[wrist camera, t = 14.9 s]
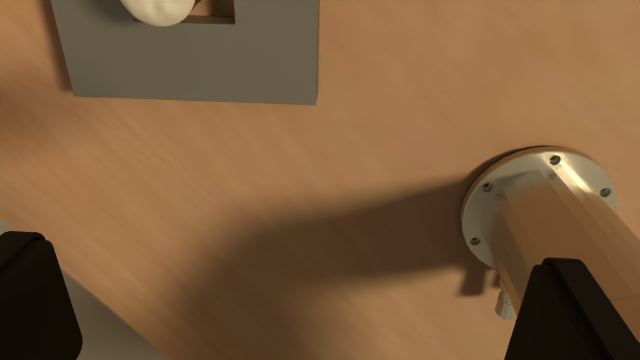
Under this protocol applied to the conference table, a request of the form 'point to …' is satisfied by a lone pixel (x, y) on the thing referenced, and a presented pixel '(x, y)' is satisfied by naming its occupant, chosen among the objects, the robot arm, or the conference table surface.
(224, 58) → the socket plate
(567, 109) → the conference table surface
